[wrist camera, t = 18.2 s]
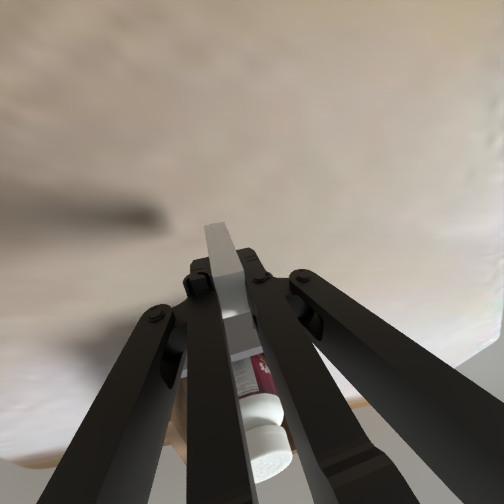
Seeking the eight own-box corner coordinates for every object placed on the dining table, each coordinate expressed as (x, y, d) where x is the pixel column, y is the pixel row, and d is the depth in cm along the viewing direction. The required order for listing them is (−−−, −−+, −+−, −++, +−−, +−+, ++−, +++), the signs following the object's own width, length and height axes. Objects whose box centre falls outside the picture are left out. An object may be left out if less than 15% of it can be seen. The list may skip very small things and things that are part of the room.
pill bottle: (265, 350, 28) (306, 463, 18) (221, 370, 27) (239, 496, 17) (250, 320, 24) (290, 438, 15) (201, 342, 24) (209, 479, 14)
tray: (169, 320, 23) (163, 376, 18) (278, 291, 26) (303, 332, 20) (202, 395, 31) (204, 450, 26) (283, 367, 33) (302, 413, 28)
